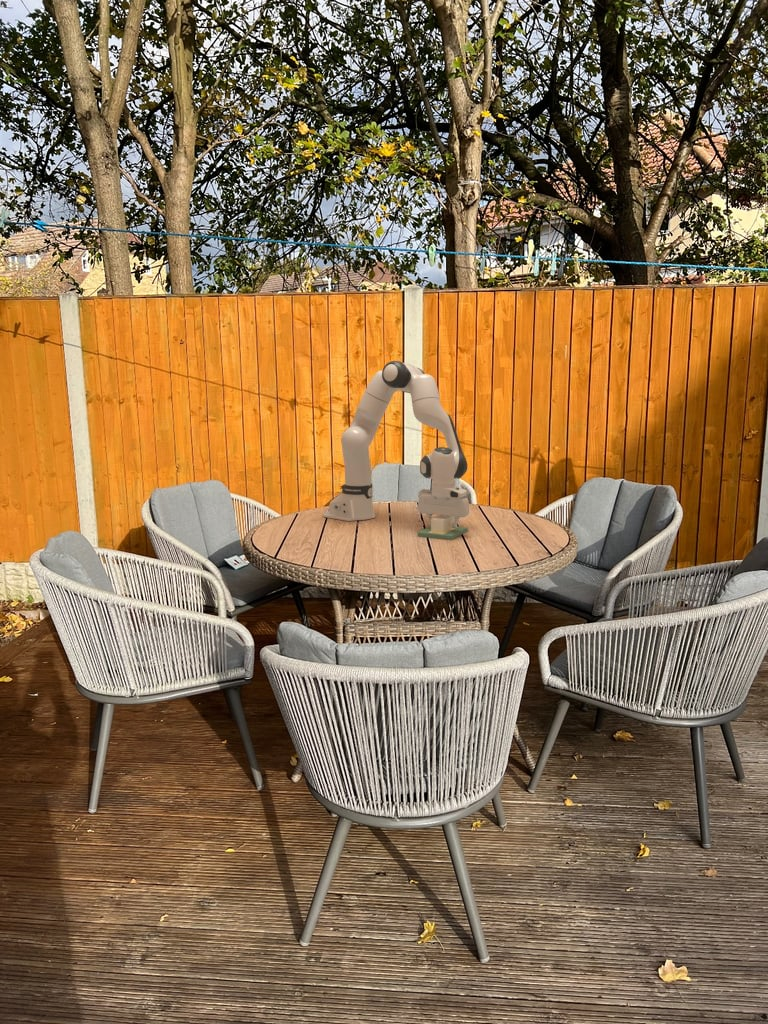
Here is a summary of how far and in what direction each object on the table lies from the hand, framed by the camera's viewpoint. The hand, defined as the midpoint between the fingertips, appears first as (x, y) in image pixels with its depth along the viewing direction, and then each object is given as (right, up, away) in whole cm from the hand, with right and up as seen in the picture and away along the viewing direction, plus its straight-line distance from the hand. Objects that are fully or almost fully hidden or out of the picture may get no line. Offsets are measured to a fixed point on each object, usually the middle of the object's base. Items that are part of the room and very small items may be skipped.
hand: (443, 526), depth 291 cm
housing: (0, -1, 0) cm, 1 cm away
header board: (0, -3, +1) cm, 3 cm away
